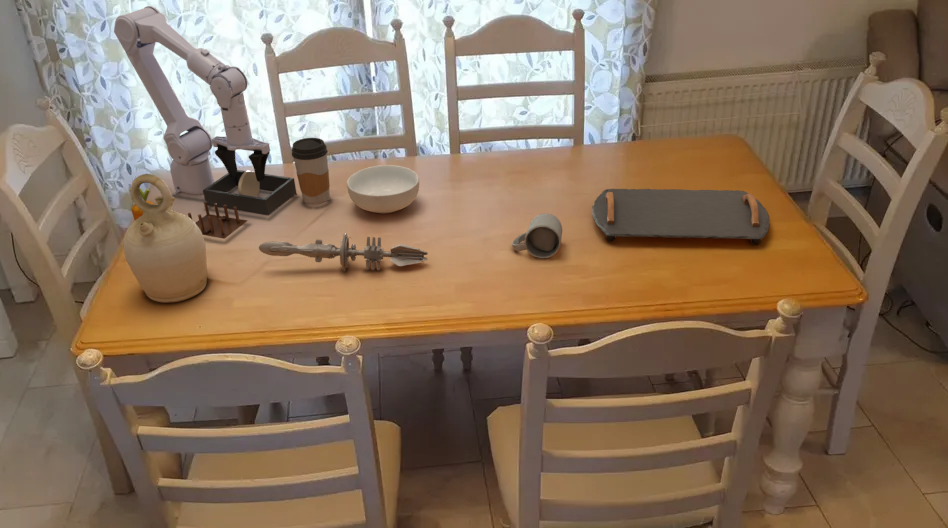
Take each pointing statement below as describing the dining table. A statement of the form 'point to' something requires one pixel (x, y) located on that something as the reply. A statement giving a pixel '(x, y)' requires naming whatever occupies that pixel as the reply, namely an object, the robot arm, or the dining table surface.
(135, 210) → the carrot
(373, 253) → the spaceship
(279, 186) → the dark grey open box
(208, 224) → the dish rack
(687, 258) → the dining table surface
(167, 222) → the jug
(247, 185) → the saucer
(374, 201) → the cereal bowl
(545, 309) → the dining table surface
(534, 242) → the ceramic mug
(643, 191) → the serving tray
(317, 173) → the coffee cup
